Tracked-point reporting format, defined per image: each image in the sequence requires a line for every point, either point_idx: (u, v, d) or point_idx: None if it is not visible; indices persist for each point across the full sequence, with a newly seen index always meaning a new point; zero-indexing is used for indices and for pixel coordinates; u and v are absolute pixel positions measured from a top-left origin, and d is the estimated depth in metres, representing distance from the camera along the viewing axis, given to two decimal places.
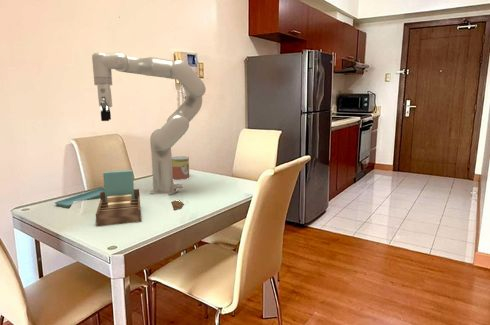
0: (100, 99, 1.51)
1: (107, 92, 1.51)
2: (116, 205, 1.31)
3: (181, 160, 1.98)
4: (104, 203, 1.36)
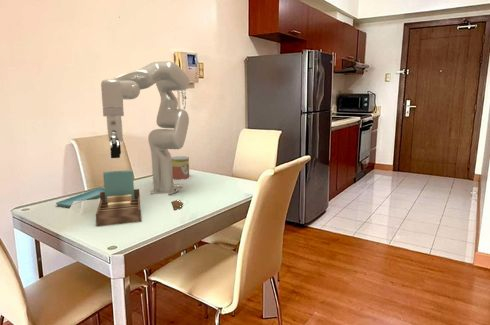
0: (110, 133, 1.30)
1: (118, 125, 1.31)
2: (116, 205, 1.31)
3: (181, 160, 1.98)
4: (104, 203, 1.36)
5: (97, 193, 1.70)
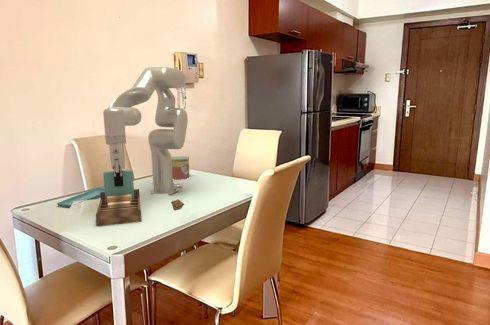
0: (113, 161, 1.32)
1: (121, 153, 1.33)
2: (116, 205, 1.31)
3: (181, 160, 1.98)
4: (104, 203, 1.36)
5: (96, 193, 1.70)
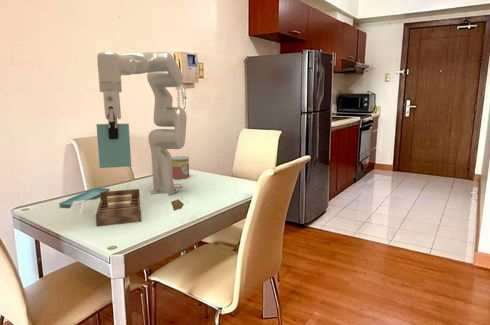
0: (107, 109, 1.21)
1: (115, 101, 1.22)
2: (116, 205, 1.31)
3: (181, 160, 1.98)
4: (104, 203, 1.36)
5: (94, 193, 1.71)
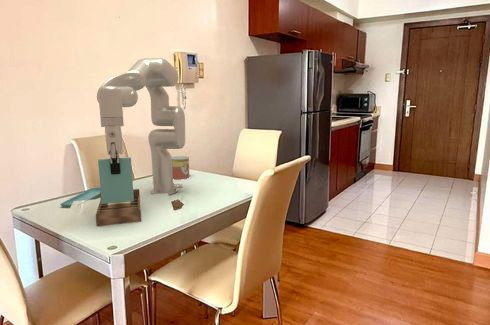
0: (109, 145, 1.18)
1: (118, 136, 1.19)
2: (116, 205, 1.31)
3: (181, 160, 1.98)
4: None
5: (93, 193, 1.71)
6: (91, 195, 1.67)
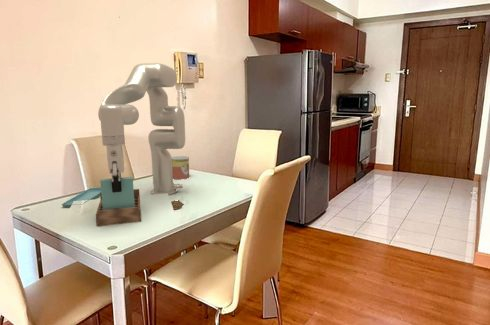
0: (110, 164, 1.19)
1: (119, 155, 1.20)
2: None
3: (181, 160, 1.98)
4: None
5: (91, 193, 1.70)
6: (90, 195, 1.67)
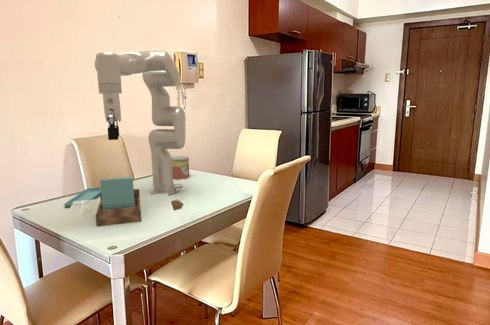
0: (107, 112, 1.17)
1: (116, 103, 1.18)
2: None
3: (181, 160, 1.98)
4: None
5: (89, 193, 1.70)
6: (89, 195, 1.67)
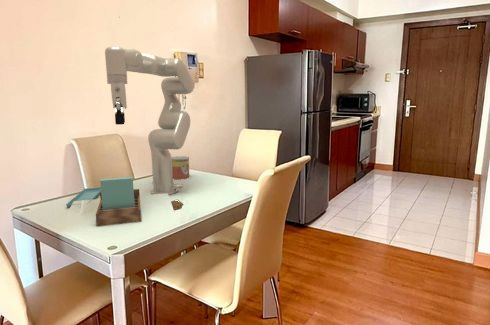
0: (114, 100, 1.33)
1: (122, 92, 1.34)
2: None
3: (181, 160, 1.98)
4: None
5: (88, 193, 1.70)
6: (88, 195, 1.67)
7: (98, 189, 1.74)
